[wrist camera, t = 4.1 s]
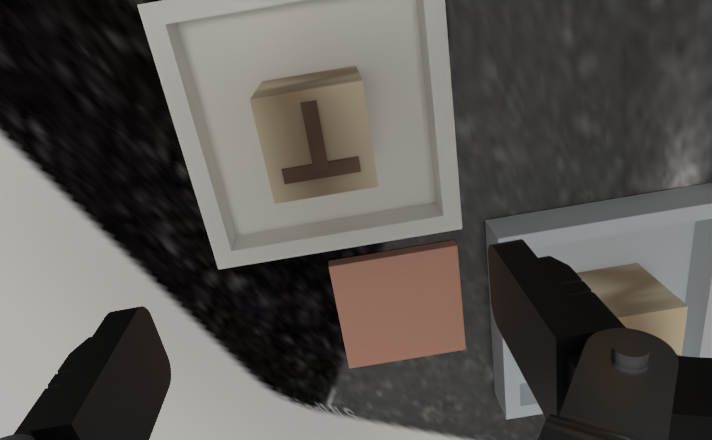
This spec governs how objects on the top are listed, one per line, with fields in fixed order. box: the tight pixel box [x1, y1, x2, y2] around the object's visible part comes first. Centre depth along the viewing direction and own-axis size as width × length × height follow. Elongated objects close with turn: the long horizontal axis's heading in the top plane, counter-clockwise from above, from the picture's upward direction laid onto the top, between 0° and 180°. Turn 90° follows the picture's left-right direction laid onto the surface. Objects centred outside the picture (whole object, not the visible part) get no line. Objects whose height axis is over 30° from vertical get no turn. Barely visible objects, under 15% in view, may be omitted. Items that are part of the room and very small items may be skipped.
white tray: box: [137, 0, 462, 270], centre depth 27 cm, size 14×14×3 cm
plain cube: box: [577, 263, 688, 356], centre depth 32 cm, size 5×5×5 cm
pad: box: [328, 240, 466, 369], centre depth 33 cm, size 8×8×1 cm
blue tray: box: [485, 183, 712, 420], centre depth 33 cm, size 14×14×3 cm
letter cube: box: [250, 66, 378, 204], centre depth 25 cm, size 5×5×5 cm
